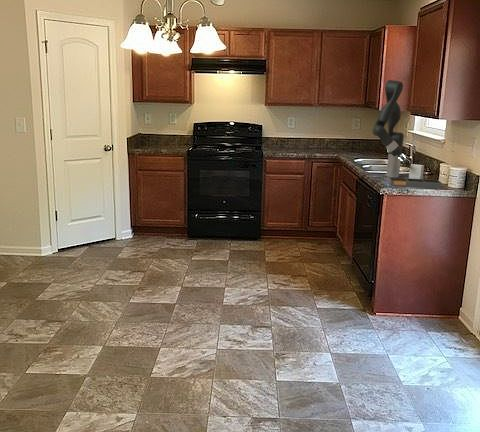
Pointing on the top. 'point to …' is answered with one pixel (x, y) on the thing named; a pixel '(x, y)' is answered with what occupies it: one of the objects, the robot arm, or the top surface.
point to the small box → (416, 171)
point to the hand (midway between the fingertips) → (408, 165)
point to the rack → (415, 183)
